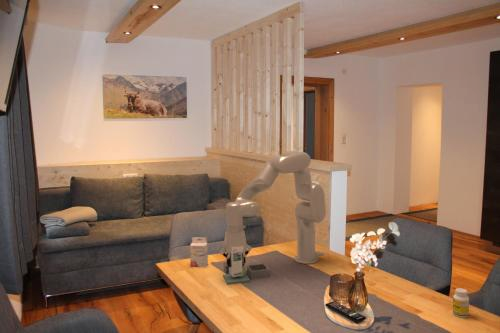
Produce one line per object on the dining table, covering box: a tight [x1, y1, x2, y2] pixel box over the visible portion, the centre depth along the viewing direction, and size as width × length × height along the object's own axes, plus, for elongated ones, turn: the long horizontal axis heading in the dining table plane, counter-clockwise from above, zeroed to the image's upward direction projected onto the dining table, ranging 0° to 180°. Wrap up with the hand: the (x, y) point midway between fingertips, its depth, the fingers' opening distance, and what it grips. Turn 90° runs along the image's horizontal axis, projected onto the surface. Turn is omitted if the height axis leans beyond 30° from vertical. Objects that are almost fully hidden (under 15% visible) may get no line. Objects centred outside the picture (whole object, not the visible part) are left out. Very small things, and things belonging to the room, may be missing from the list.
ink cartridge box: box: [189, 236, 209, 268], centre depth 225 cm, size 9×5×15 cm, turn 84°
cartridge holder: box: [246, 263, 271, 280], centre depth 210 cm, size 9×9×4 cm
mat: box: [222, 271, 251, 286], centre depth 205 cm, size 11×11×1 cm
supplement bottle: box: [452, 287, 470, 319], centre depth 162 cm, size 5×5×10 cm
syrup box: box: [229, 246, 245, 277], centre depth 204 cm, size 6×6×14 cm
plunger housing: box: [223, 261, 230, 274], centre depth 215 cm, size 6×6×4 cm
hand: (236, 265), depth 204 cm, fingers closed on syrup box, 6 cm apart
